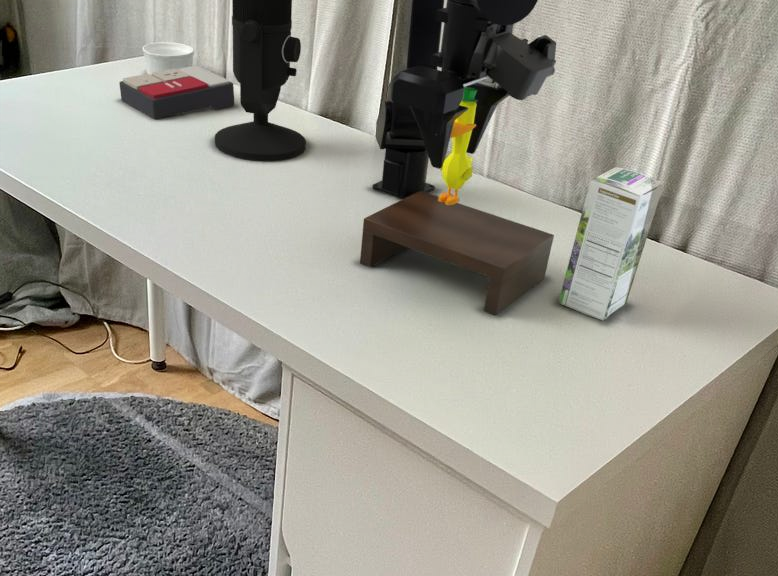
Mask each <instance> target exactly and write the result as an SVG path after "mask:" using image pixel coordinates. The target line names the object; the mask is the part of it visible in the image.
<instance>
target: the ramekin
mask: <svg viewBox="0 0 778 576" xmlns="http://www.w3.org/2000/svg"><path fill="white" fill-rule="evenodd" d="M142 53H143V57H144V63H145V71H146V74H150V75H152V74H151V73H154V72H159V71H164V70H169V69H175V68H176V69H178V70H179V69H181V68H186V67H191V66H193V60H194V55H195V49H194V48H193V47H192V46H190V45H188V44H186V43H185V44H184V43H179V42H173V41H172V42H171V41H156V42H151V43H150V42H149V43H147V44H145V45H143V46H142Z"/></svg>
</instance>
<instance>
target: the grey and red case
mask: <svg viewBox="0 0 778 576" xmlns="http://www.w3.org/2000/svg"><path fill="white" fill-rule="evenodd" d="M151 74H152V75H150V74H148V73H144V74H143V73H142V74H139V75H134V76H128V77H124V78H122V81H119V82H118V83H119V84H118V85H119V90H120V91H119V92H120V98H121V102H124V103H125V104H127V105H128V106H131V107H132V108H134V109H136V110H137V111H139V112H141V113H142V114H145V115H147V116H148V117H150V118H152V119H154V120H158V119H163V118H167V117H173V116H176V115H182V114H186V113H190V112H194V111H200V110H204V109H208V108H212V109H213V110H220V109H224V108H230V107H233V106H235V90H234V83H233V82H232V81H230V80H229V79H227V78H225V77H223V76H220V75H218V74H217V73H214V72H212V71H209V70H208V69H206V68H203V67H202V66H199V65H192V66H191V67H186V68H181V69H179V70H178V69H176V68H175V69H169V70H164V71H159V72H154V73H151Z"/></svg>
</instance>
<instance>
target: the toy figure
mask: <svg viewBox="0 0 778 576" xmlns="http://www.w3.org/2000/svg"><path fill="white" fill-rule="evenodd" d="M476 92H477V90H476V89H474V88H470V87H464V94H463V99H462V101H461V103H460V106H464V107H467V108H468V110H467V111H466V112H464V113H463V114H462V115H461V116H459V117H458V118H457V119H456V120H455V121H454V124H453V128H452V132H451V136H450V139H452V140H451V143H452V144H451V146H452V147H451V153H449V155H448V156H447V157H445V160H444V163H443V166H442V168H440V169H439V170H440V171H441V177H442V180H443V182H444V184H445V185H446V187H447V192H443V193H440V195H439V196H438V197H439V198H438V201H440V202H445V204H446V205H454V204H456V203H459V202H460V198H459V197H458V193H459V190H461V188H462V187H463V186H464V185H465V184H466V182H467V181H468V180H470V178H472V176H473V172H474V168H473V167H472V162H473V160H474V156H473V157H469V156H468V153H467V152H466V151H467V148H468V144H469V140H470V137H471V133H472V129H473V128H474V127H476V124H474V118H475V111H476V105H477V104H476V102H477V100H476V99H474V97H475V95H476ZM452 190H454V192H453V194H451V193H452Z"/></svg>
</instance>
